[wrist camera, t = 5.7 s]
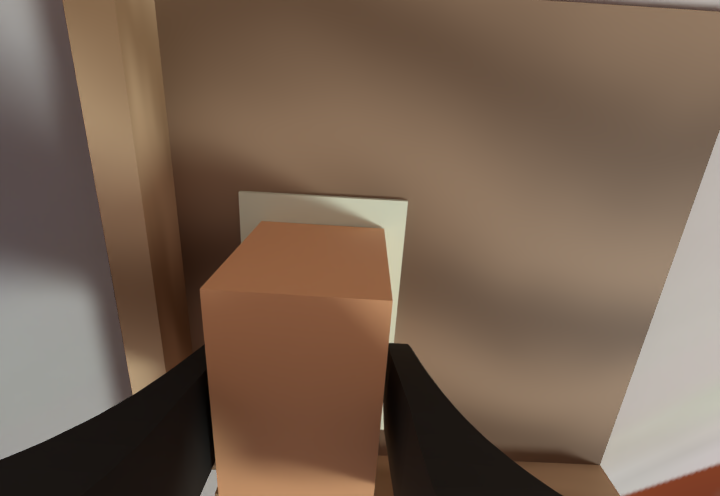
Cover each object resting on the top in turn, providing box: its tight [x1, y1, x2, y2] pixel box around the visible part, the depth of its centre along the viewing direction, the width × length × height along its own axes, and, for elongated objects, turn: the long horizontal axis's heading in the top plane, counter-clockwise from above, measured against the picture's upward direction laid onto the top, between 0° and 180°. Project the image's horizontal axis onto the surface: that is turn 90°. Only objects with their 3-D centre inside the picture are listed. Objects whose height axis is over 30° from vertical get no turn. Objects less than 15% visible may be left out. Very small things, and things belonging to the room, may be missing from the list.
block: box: [200, 221, 393, 496], centre depth 12 cm, size 8×4×5 cm, turn 177°
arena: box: [62, 0, 720, 496], centre depth 13 cm, size 18×18×3 cm
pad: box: [238, 191, 408, 430], centre depth 14 cm, size 9×5×1 cm, turn 177°
